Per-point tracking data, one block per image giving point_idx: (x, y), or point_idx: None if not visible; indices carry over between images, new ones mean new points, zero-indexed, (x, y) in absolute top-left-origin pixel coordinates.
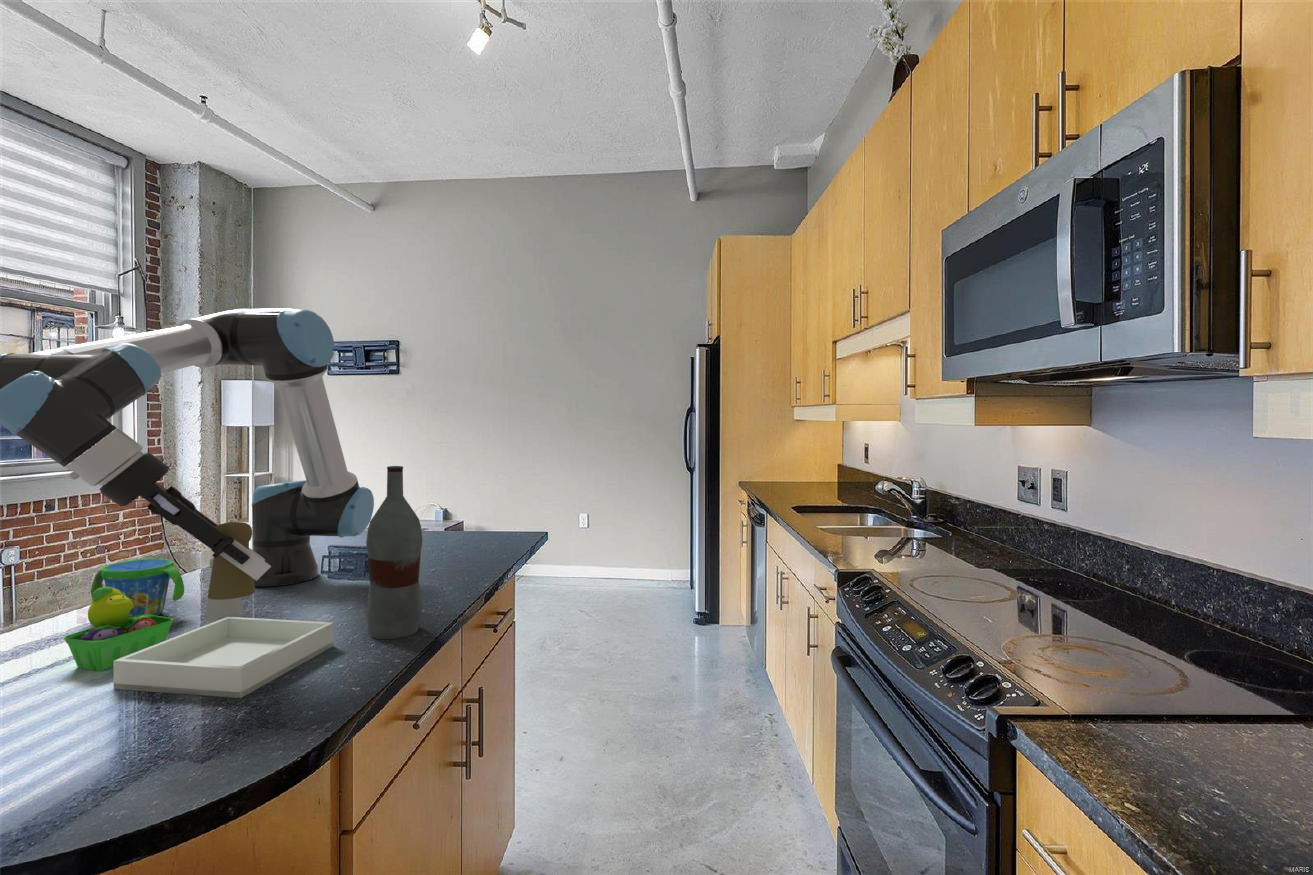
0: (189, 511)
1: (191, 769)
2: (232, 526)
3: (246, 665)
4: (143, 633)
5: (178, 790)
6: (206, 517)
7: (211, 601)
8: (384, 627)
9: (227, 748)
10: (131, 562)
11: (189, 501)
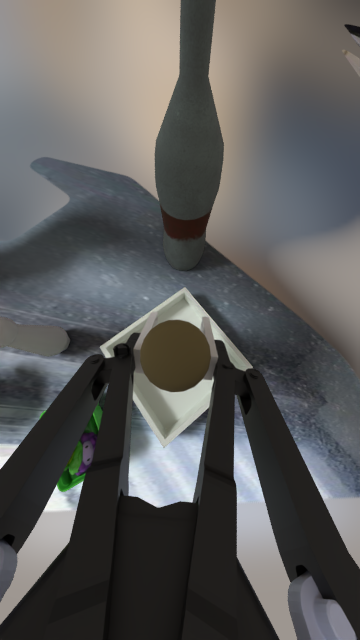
0: (328, 518)
1: (331, 408)
2: (204, 357)
3: (247, 362)
4: (97, 418)
5: (353, 417)
6: (82, 394)
7: (43, 351)
8: (197, 261)
9: (315, 387)
10: None
11: (117, 499)
